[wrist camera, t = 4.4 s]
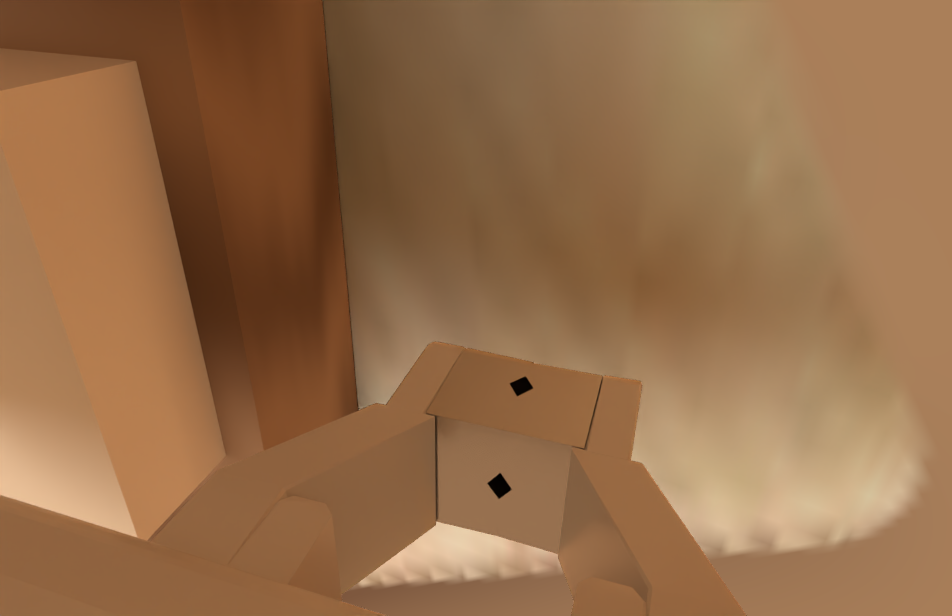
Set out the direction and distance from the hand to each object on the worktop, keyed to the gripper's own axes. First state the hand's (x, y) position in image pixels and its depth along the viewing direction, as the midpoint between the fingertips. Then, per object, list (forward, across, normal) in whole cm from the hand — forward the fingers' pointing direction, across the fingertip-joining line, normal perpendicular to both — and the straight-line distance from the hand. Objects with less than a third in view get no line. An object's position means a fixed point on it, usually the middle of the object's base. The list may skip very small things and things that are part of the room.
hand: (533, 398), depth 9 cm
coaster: (0, +10, 0) cm, 10 cm away
